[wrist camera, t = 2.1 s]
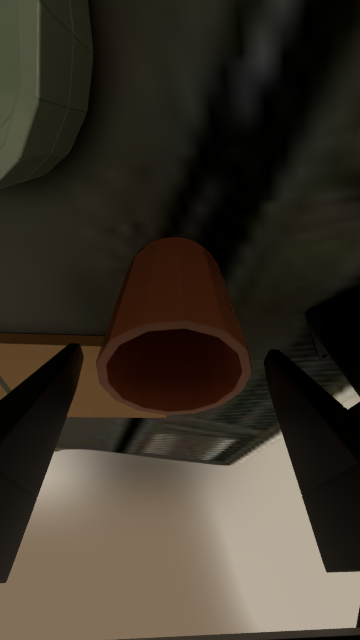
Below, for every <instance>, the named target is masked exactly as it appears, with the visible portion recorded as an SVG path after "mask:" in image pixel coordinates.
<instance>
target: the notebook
mask: <svg viewBox="0 0 360 640" xmlns="http://www.w3.org/2000/svg"><path fill="white" fill-rule="evenodd" d="M104 337H105V336H85V335H53V334H21V333H0V400H1V399H2V398H3V397H4V396H6V395H7V394H8V393H9V392H11V391H12V390H13V389H14V388H15V387H17V386H18V385H19V384H20V383H22V382H23V381H24V380H25V379H26V378H28V377H29V376H30V375H31V374H33V373H34V372H35V371H36V370H37V369H39V368H40V367H41V366H42V365H44V364H45V363H46V362H47V361H49V360H50V359H51V358H52V357H53V356H55V355H56V354H57V353H58V352H60V351H61V350H62V349H63V348H64V347H66V346H67V345H68V344H70V343H79V344H80V346H81V349H82V352H83V355H84V360H83V364H82V368H81V373H80V377H79V381H78V385H77V389H76V392H75V395H74V398H73V401H72V403H71V406H70V409H69V412H68V414H67V417H121V418H166V415H162V414H156V413H149V412H143V411H139V410H136V409H134V408H132V407H130V406H127V405H125V404H123V403H121V402H118V401H117V400H115V399H114V398H113V397H112V396H111V395H110V394H109V393H108V392H107V391H106V390H105V389H104V388H103V387H102V386H101V385H100V383H99V377H98V372H97V366H96V360H97V357H98V354H99V351H100V348H101V345H102V342H103V340H104Z"/></svg>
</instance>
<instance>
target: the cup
mask: <svg viewBox="0 0 360 640" xmlns="http://www.w3.org/2000/svg"><path fill="white" fill-rule="evenodd" d="M96 366H97V372H98V377H99V383H100V385H101V386H102V387H103V388H104V389H105V390H106V391H107V392H108V393H109V394H110V395H111V396H112V397H113V398H114V399H115V400H117V401H118V402H121V403H123V404H125V405H127V406H130V407H132V408H134V409H136V410H139V411H143V412H149V413H156V414H162V415H179V414H193V413H198V412H201V411H205V410H208V409H211V408H214V407H217V406H220V405H222V404H224V403H225V402H227V401H228V400H230V399H231V398H233V397H234V396H235V395H237V394H238V393H240V392H241V391H242V389H243V388H244V386H245V384H246V382H247V380H248V379H249V377H250V375H251V373H252V368H251V363H250V357H249V352H248V348H247V345H246V343H245V340H244V337H243V334H242V331H241V328H240V326H239V323H238V320H237V317H236V314H235V311H234V309H233V306H232V303H231V300H230V297H229V294H228V292H227V289H226V286H225V283H224V280H223V277H222V274H221V272H220V269H219V266H218V264H217V262H216V261H215V259H214V258H213V256H212V255H211V254H210V252H209V251H208V250H207V249H205V248H204V247H203V246H201V245H200V244H198V243H196V242H194V241H192V240H189V239H186V238H180V237H168V238H162V239H158V240H155V241H153V242H151V243H149V244H147V245H146V246H144V247H143V248H142V249H141V250H140V251H139V252H138V253H137V254H136V255H135V257H134V258H133V260H132V262H131V264H130V267H129V268H128V270H127V272H126V275H125V278H124V281H123V284H122V287H121V290H120V293H119V296H118V299H117V301H116V304H115V307H114V310H113V313H112V316H111V319H110V322H109V325H108V328H107V331H106V334H105V337H104V340H103V342H102V345H101V348H100V351H99V354H98V357H97V360H96Z"/></svg>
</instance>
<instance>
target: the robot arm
mask: <svg viewBox="0 0 360 640" xmlns="http://www.w3.org/2000/svg"><path fill="white" fill-rule="evenodd" d="M312 315H313V316H312ZM305 317H306V320H307V323H308V327H309V330H310V334H311V337H312V340H313V344H314V347H315V351H316V354H317V356H318V357H319V359H326V358H330V357H331V358H332V359H333V360H334V362H335V363H336V365H337V366H338V367H339V369H340V370H341V371H342V373H343V374H344V376H345V377H346V378H347V380H348V381H349V383H350V384H351V385H352V387H353V388H354V390H355V391H356V392H357V394H358V395H359V397H360V289H359V290H357V291H354V292H352V293H350V294H347V295H345V296H342V297H340V298H337V299H335V300H332V301H330V302H327V303H325V304H322V305H320V306H318V307H315V308H313V309H310V310H308V311H307V312H306V314H305ZM83 360H84V355H83V352H82V349H81V346H80V344H79V343H70V344H68V345H67V346H66V347H64V348H63V349H62V350H61V351H60V352H58V353H57V354H56V355H55V356H53V357H52V358H51V359H50V360H49V361H47V362H46V363H45V364H44V365H42V366H41V367H40V368H39V369H37V370H36V371H35V372H34V373H33V374H31V375H30V376H29V377H28V378H26V379H25V380H24V381H23V382H22V383H20V384H19V385H18V386H17V387H15V388H14V389H13V390H12V391H11V392H9V393H8V394H7V395H6V396H4V397H3V398H2V399H1V400H0V583H5V582H6V581H7V579H8V576H9V573H10V571H11V568H12V566H13V563H14V560H15V557H16V555H17V552H18V549H19V546H20V544H21V541H22V538H23V535H24V532H25V530H26V527H27V524H28V522H29V519H30V516H31V513H32V511H33V508H34V505H35V502H36V500H37V499H36V498H37V497H38V494H39V491H40V488H41V486H42V483H43V480H44V477H45V475H46V472H47V469H48V466H49V464H50V461H51V458H52V455H53V453H54V450H55V447H56V445H57V442H58V439H59V436H60V434H61V431H62V428H63V425H64V423H65V420H66V417H67V414H68V412H69V409H70V406H71V403H72V401H73V398H74V395H75V392H76V389H77V385H78V381H79V377H80V373H81V368H82V364H83ZM264 367H265V372H266V377H267V382H268V387H269V392H270V396H271V399H272V402H273V405H274V409H275V412H276V415H277V418H278V421H279V424H280V428H281V431H282V434H283V437H284V440H285V443H286V447H287V449H288V453H289V456H290V459H291V462H292V465H293V469H294V472H295V475H296V478H297V481H298V484H299V488H300V490H301V494H302V495H303V496H302V498H303V500H304V504H305V507H306V510H307V513H308V516H309V520H310V523H311V526H312V529H313V532H314V535H315V539H316V542H317V545H318V548H319V551H320V554H321V557H322V561H323V564H324V567H325V569H326V572H356V571H360V402H359V403H357V404H356V405H354V406H353V407H351V408H350V409H348V410H347V409H346V408H345V407H343V405H342V404H340V403H339V402H338V401H337V400H336V399H335V398H334V397H332V396H331V395H330V394H329V393H328V392H327V391H326V390H324V389H323V388H322V387H321V386H320V385H319V384H318V383H316V382H315V381H314V380H313V379H312V378H311V377H310V376H308V375H307V374H306V373H305V372H304V371H303V370H302V369H300V368H299V367H298V366H297V365H296V364H295V363H294V362H292V361H291V360H290V359H289V358H288V357H287V356H285V355H284V354H283V353H282V352H281V351H280V350H273V349H271V350H269V352H268V354H267V356H266V358H265V360H264ZM119 640H360V608H359V614H358V620H357V626H356V628H343V629H322V630H304V631H303V630H302V631H283V632H282V631H281V632H261V633H241V634H220V635H200V636H180V637H161V638H160V637H159V638H140V639H119Z"/></svg>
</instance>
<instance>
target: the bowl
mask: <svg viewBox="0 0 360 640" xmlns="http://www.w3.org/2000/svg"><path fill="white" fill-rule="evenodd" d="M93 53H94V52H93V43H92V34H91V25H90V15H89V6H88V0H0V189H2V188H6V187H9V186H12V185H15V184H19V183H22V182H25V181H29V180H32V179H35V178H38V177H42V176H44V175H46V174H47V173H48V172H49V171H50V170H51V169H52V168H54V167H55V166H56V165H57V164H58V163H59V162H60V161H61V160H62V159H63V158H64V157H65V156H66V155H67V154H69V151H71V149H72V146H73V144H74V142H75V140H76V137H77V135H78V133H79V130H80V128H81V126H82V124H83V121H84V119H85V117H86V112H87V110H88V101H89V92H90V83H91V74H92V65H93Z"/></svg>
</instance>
